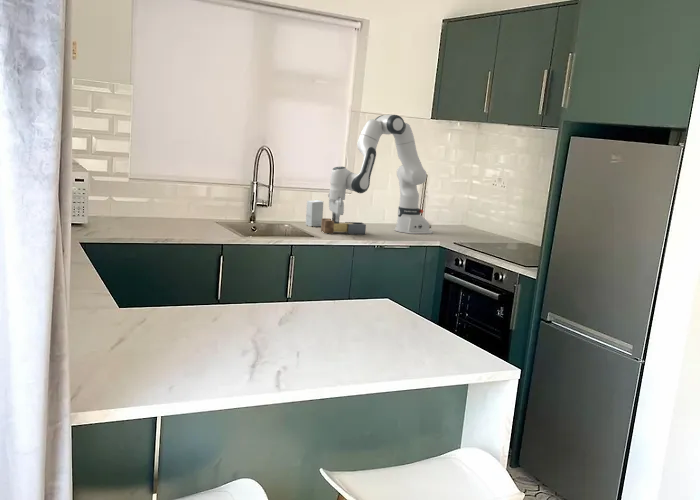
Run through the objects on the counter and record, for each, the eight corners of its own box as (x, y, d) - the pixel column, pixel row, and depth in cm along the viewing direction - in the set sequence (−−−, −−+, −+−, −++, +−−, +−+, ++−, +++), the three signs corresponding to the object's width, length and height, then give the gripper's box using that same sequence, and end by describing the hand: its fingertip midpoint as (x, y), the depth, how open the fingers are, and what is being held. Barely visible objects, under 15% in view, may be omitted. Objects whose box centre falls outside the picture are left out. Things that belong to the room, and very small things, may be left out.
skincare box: (316, 224, 419) (318, 199, 417) (322, 226, 415) (324, 201, 412) (304, 225, 414) (306, 200, 411) (311, 227, 410) (312, 201, 407)
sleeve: (361, 232, 404) (362, 222, 403) (365, 234, 396) (366, 224, 395) (344, 231, 401) (345, 221, 400) (348, 234, 393) (348, 224, 392)
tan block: (351, 230, 400) (352, 214, 398) (353, 232, 396) (354, 216, 394) (327, 230, 396) (328, 214, 395) (328, 231, 392) (329, 215, 391)
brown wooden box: (329, 231, 399) (330, 218, 398) (333, 234, 391) (334, 221, 389) (320, 230, 398) (321, 218, 397) (324, 233, 389) (325, 220, 388)
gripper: (347, 198, 383) (345, 223, 385) (338, 194, 402) (336, 218, 405) (336, 198, 381) (334, 223, 384) (327, 193, 401) (326, 217, 403)
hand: (335, 220), depth 394 cm, fingers closed on tan block, 4 cm apart
